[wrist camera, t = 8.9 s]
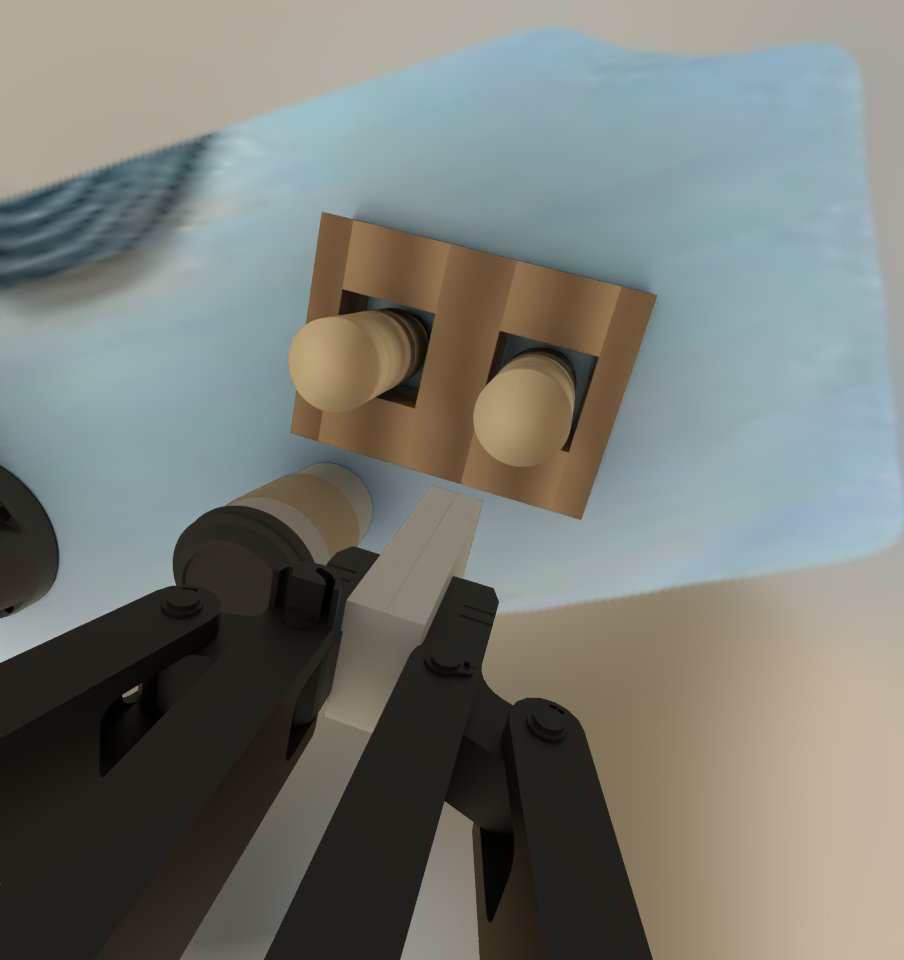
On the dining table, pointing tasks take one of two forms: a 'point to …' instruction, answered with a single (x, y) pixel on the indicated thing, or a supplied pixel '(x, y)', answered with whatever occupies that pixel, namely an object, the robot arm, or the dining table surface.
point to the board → (472, 356)
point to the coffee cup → (272, 534)
